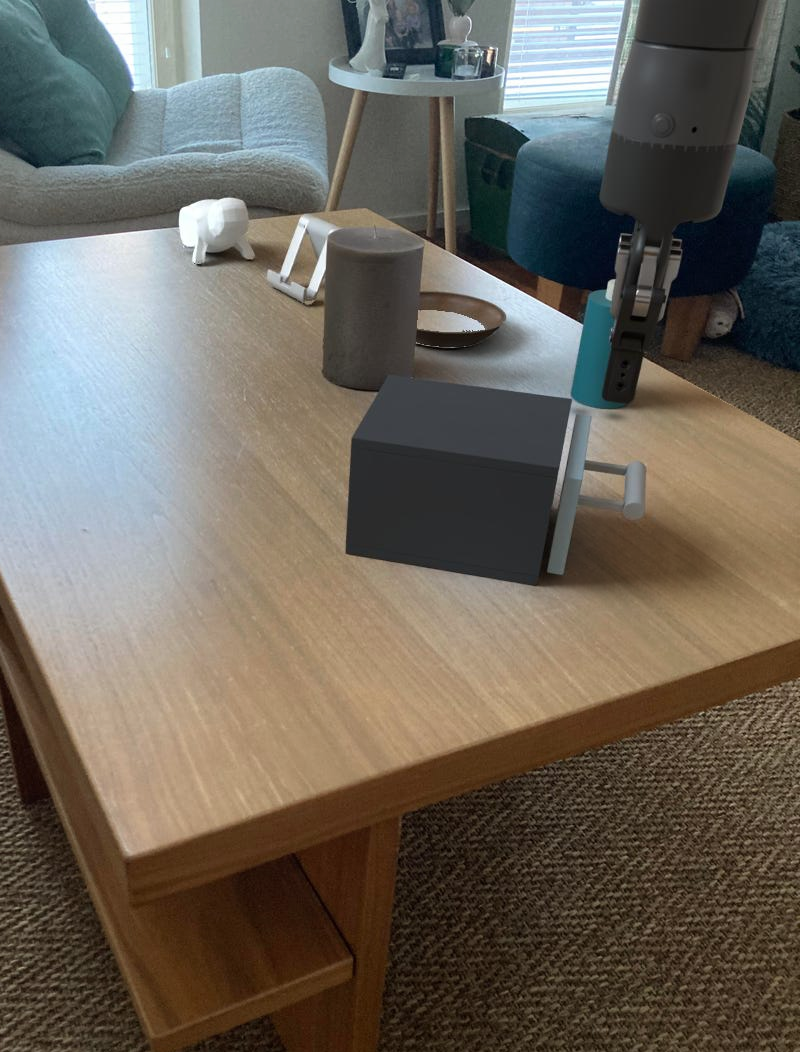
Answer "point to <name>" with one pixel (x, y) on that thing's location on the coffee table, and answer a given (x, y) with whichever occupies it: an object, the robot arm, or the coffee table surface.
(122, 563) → the coffee table surface
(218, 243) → the white animal figurine
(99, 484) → the coffee table surface
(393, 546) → the drawer casing
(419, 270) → the pillar candle
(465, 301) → the saucer
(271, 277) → the tablet stand
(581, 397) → the detergent bottle
